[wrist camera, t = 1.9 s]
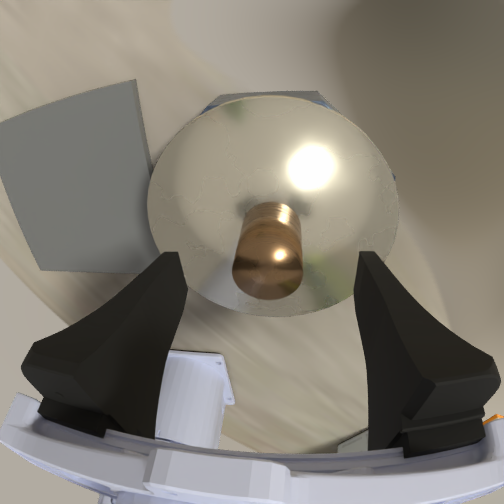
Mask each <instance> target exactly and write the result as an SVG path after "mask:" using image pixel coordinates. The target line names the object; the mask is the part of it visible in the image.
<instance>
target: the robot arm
mask: <svg viewBox="0 0 504 504" xmlns="http://www.w3.org/2000/svg"><path fill="white" fill-rule="evenodd" d="M187 291H188V287H187V284H186V280H185V276H184V272H183V269H182V265H181V261H180V257H179V253H178V252H163V253H162V254H161V255H160V256H159V257H158V258H156V259H155V260H154V261H153V262H152V263H151V264H150V265H149V266H148V267H147V268H146V269H145V270H144V271H143V272H142V273H140V274H139V275H138V276H137V277H136V278H135V279H134V280H133V281H132V282H131V283H130V284H128V285H127V286H126V287H125V288H124V289H123V290H121V291H120V292H119V293H118V294H117V295H116V296H114V297H113V298H112V299H111V300H109V301H108V302H107V303H105V304H104V305H103V306H101V307H100V308H99V309H97V310H96V311H94V312H93V313H91V314H89V315H88V316H86V317H85V318H83V319H81V320H80V321H78V322H77V323H75V324H73V325H71V326H69V327H68V328H66V329H64V330H62V331H60V332H58V333H55V334H53V335H51V336H49V337H46V338H44V339H42V340H39V341H37V342H34V343H33V345H32V347H31V349H30V350H29V352H28V354H27V356H26V357H25V359H24V361H23V363H22V365H21V370H22V372H23V374H24V376H25V377H26V378H27V380H28V381H29V382H30V383H31V384H32V385H33V386H34V387H35V388H36V389H37V390H38V391H39V392H40V394H42V396H43V397H44V398H43V400H42V402H40V401H38V400H36V399H34V398H32V397H29V396H27V395H24V394H22V393H17V394H16V397H15V398H14V400H13V403H12V405H11V407H10V409H9V411H8V413H7V415H6V418H5V420H4V422H3V424H2V427H1V429H0V442H1V443H2V444H3V445H5V446H6V447H8V448H9V449H10V450H12V451H13V452H15V453H17V454H18V455H19V456H21V457H23V458H24V459H25V460H27V461H29V462H30V463H32V464H34V465H36V466H38V467H40V468H42V469H44V470H46V471H48V472H50V473H53V474H54V475H57V476H59V477H61V478H63V479H65V480H68V481H70V482H72V483H74V484H77V485H79V486H82V487H84V488H86V489H89V490H91V491H94V492H97V493H99V494H100V497H99V501H98V504H460V503H464V502H466V501H469V500H473V499H476V498H479V497H481V496H484V495H487V494H490V493H492V492H494V491H496V490H498V489H500V488H502V487H504V418H500V419H497V420H493V421H491V422H488V423H486V424H485V425H483V422H482V418H483V417H484V416H485V412H484V408H483V406H484V405H485V404H486V403H487V401H488V400H489V399H490V398H491V397H492V396H493V395H494V394H495V392H496V391H497V390H498V388H499V386H500V383H501V378H500V375H499V372H498V369H497V366H496V364H495V362H494V359H493V357H492V356H490V355H488V354H486V353H485V352H483V351H481V350H479V349H477V348H475V347H474V346H472V345H471V344H469V343H468V342H466V341H465V340H463V339H461V338H460V337H458V336H457V335H456V334H454V333H453V332H452V331H450V330H449V329H448V328H446V327H445V326H444V325H443V324H441V323H440V322H439V321H438V320H436V319H435V318H434V317H433V316H432V315H431V314H430V313H429V312H428V311H426V310H425V309H424V308H423V307H422V306H421V305H420V304H419V303H418V302H417V301H416V300H415V299H414V298H413V297H412V296H411V295H410V293H409V292H408V291H407V290H406V289H405V288H404V287H403V286H402V284H401V283H400V282H399V281H398V280H397V278H396V277H395V276H394V275H393V274H392V272H391V271H390V270H389V269H388V267H387V266H386V265H385V264H384V262H383V261H382V260H381V258H380V257H379V256H378V255H377V253H376V252H375V251H359V258H358V264H357V271H356V277H355V283H354V289H353V291H354V302H355V312H356V317H357V321H358V326H359V331H360V336H361V340H362V345H363V350H364V355H365V361H366V369H367V384H368V451H362V452H348V453H328V454H275V453H255V452H240V451H229V450H219V449H218V446H219V441H220V435H221V429H222V423H223V417H224V411H225V405H226V404H228V405H233V404H235V398H234V395H233V391H232V387H231V383H230V380H229V376H228V372H227V368H226V364H225V360H224V357H223V356H222V355H221V354H214V353H199V352H186V351H174V350H170V348H171V345H172V342H173V339H174V336H175V333H176V330H177V328H178V325H179V322H180V319H181V316H182V313H183V310H184V306H185V301H186V296H187Z"/></svg>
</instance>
